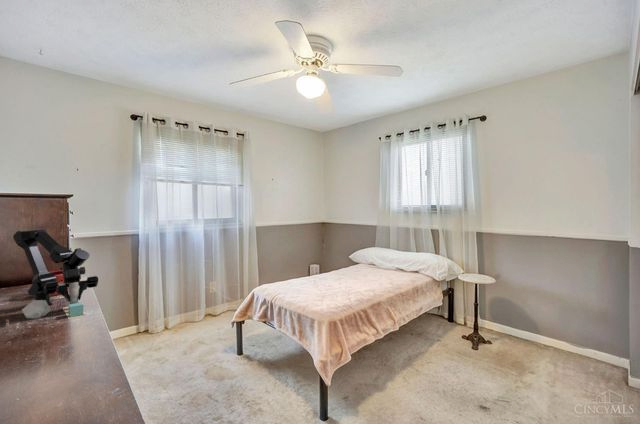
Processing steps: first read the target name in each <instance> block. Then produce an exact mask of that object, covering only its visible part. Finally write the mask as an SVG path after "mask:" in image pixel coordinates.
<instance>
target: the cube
mask: <svg viewBox="0 0 640 424" xmlns="http://www.w3.org/2000/svg"><path fill="white" fill-rule="evenodd" d="M68 307H69V316H70V317H75V316H80V315H83V311H84V303H83V302H79V303H75V304H68Z"/></svg>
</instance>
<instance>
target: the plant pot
mask: <svg viewBox="0 0 640 424" xmlns="http://www.w3.org/2000/svg"><path fill="white" fill-rule="evenodd" d="M49 272H50V273H52V272H53V273H54V274H55V277H56V278H57V284H58V283H63V282H64V279H63V270H53V271H49ZM67 290H68V291H69V287H68V288H67ZM57 291H58V290H57V289H56V292H55V293H53V294H50V297H53V296H61V295H60V294H57Z"/></svg>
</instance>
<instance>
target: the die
mask: <svg viewBox="0 0 640 424" xmlns="http://www.w3.org/2000/svg"><path fill="white" fill-rule="evenodd" d="M21 311H22V313H23V315H24V317H25V318H26V319H38V318H43V317H45V316H46V315H47V314H49V312H51V311H52V309H51V308H50V305H48V304H47V302H46V300H34V299H33V300H32V301H31V302H30V303H28V304H27V305H26V306H24V308H22V309H21Z"/></svg>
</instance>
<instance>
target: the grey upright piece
mask: <svg viewBox="0 0 640 424" xmlns="http://www.w3.org/2000/svg"><path fill="white" fill-rule="evenodd" d="M68 288H69V290H68V293H69V297H70V302H68V303H69V304H75V303H80V302H79V301H80V300H79V286H78V282H72V283H69V287H68ZM69 304H68V305H69ZM62 309H63V312H64V313H65V315H66V317H67V320H71V319H76V318H80V317H85V316H87V314H86V312H85V311H84V310H83V315H80V316H75V317H70V316H69V306H66V307H62Z"/></svg>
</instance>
